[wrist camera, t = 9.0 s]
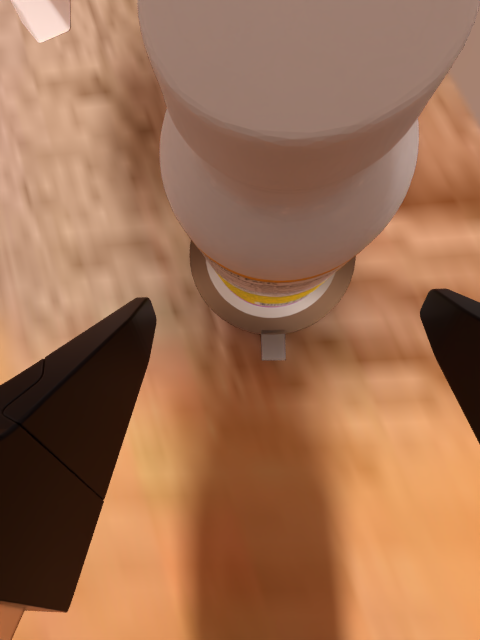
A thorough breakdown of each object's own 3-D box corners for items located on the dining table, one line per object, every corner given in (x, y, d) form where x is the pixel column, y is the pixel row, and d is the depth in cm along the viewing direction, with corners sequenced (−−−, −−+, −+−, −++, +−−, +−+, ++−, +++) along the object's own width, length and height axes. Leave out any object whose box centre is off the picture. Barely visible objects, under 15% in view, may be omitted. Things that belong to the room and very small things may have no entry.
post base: (353, 357, 17) (361, 359, 16) (194, 359, 18) (189, 361, 16) (344, 157, 18) (351, 142, 17) (193, 166, 19) (188, 153, 17)
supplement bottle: (259, 179, 17) (258, -327, 4) (350, 241, 16) (695, -120, 3) (194, 267, 17) (-22, 43, 4) (281, 332, 16) (364, 320, 3)
